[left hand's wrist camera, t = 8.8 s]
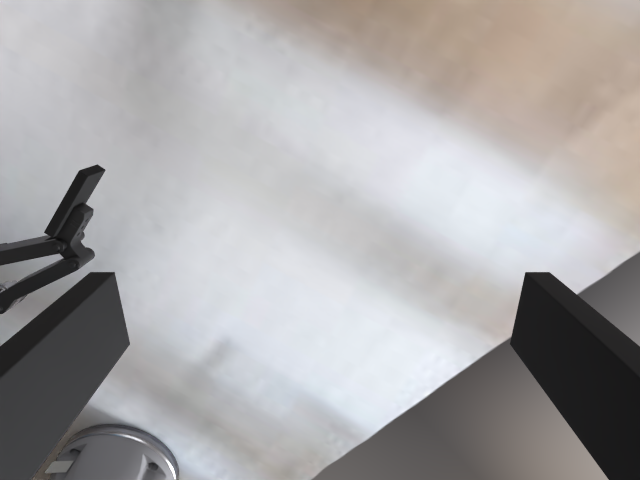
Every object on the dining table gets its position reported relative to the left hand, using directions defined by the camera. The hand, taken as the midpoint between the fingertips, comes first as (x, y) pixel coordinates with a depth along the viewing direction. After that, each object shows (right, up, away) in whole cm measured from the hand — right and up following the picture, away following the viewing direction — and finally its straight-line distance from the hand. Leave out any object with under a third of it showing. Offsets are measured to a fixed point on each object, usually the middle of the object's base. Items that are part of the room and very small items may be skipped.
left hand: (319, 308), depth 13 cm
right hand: (-24, +12, +18) cm, 32 cm away
